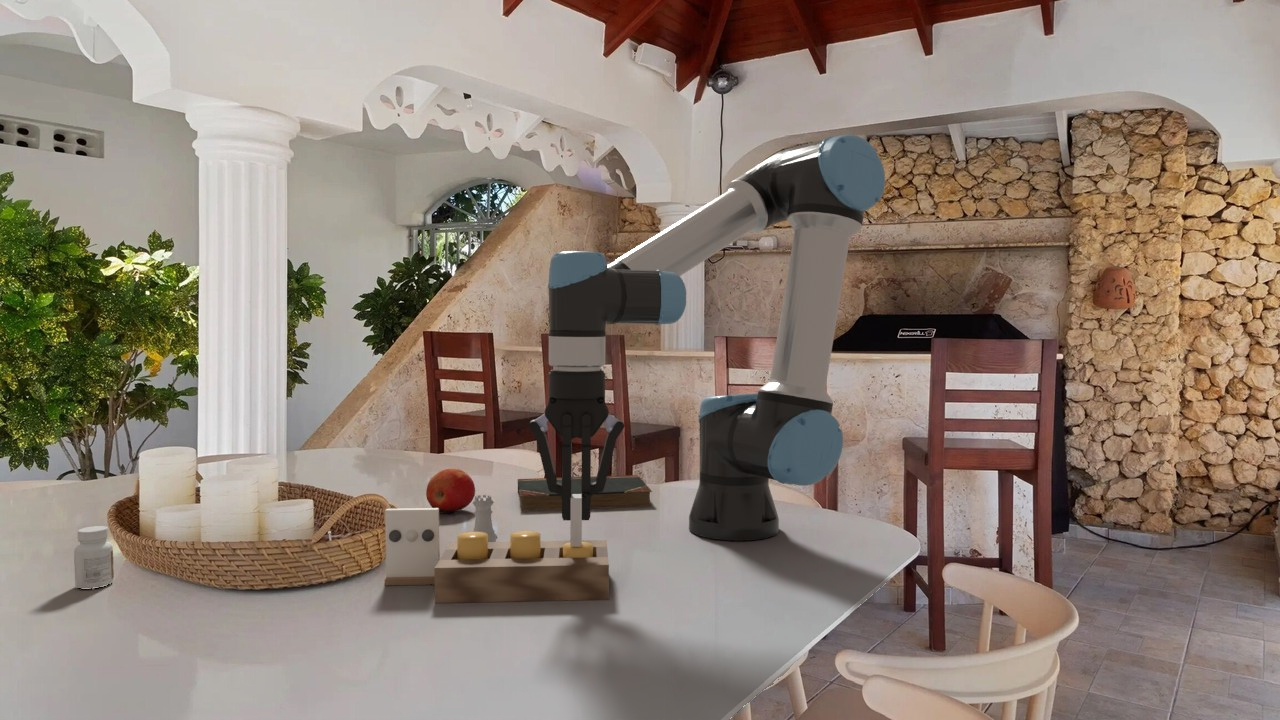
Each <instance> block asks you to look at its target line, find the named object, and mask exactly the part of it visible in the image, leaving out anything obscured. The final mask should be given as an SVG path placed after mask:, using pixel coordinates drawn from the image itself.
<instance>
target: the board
mask: <svg viewBox="0 0 1280 720" xmlns="http://www.w3.org/2000/svg"><path fill="white" fill-rule="evenodd" d="M582 542H588V543H591V544H592V545H593V557H581V558H563V545H564V544H566V543H570V540H540V546H541V558H524V559H511V558H510V541H496V542H488V559H467V560H458V556H457V541H456V542H449V543H448V544H447V546H446V548H445V549H444V552H442V555H441V556H440V560H439V561H438V563H437V565H436V566H435V568H434V571H435V584H434V604H446V603H447V604H448V603H449V604H451V603H453V604H454V603H496V602H497V603H499V602H503V603H504V602H505V603H506V602H542V601H544V602H545V601H546V602H548V601H549V602H550V601H552V602H553V601H591V600H592V601H595V600H596V601H598V600H599V601H602V600H609V599H610V596H609V595H610V593H609V591H610V581H609V580H610V578H609V577H610V570H609V567H610V566H609V565H610V564H609V552H608V541H607V539H598V540H597V539H596V540H594V539H592V540H589V539H586V540H583V539H582Z"/></svg>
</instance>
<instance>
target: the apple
mask: <svg viewBox="0 0 1280 720" xmlns="http://www.w3.org/2000/svg"><path fill="white" fill-rule="evenodd" d="M425 491H426V493H425V496H426V500H427V502H428V504H429V506H431V508H439V513H443V514H449V513H454V512H457V511H460V510H463V509H465V508H466V507H468V506H469V505H470V503H473V502H472V501H474V499H475V496H476V487H475V483H474V480H473V479H472V477H471V476H470V475H469V474H468V472H465V471H464V470H461V469H460V468H445V469H441V470H440V471H439V472H436V473H435V474H434V475H433V476H432V477H431V478H430V479H429V481H428V483H427V485H426V490H425Z"/></svg>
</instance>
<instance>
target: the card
mask: <svg viewBox="0 0 1280 720" xmlns="http://www.w3.org/2000/svg"><path fill="white" fill-rule="evenodd" d="M384 517H385V518H384V519H385V525H384V526H385V527H384V528H385V575H386V576H385V578H384V586H422V585H423V586H425V585H426V586H427V584H428V585H430V584H432V585H434V586H435V571H434V568H435V566H436V565H437V563H438V561H439V560H440V558H441V556H440V512H439V508H432V507H418V508H417V507H415V508H413V507H412V508H411V507H408V508H406V507H405V508H402V507H401V508H399V507H398V508H386V509H385V510H384ZM430 586H431V585H430Z"/></svg>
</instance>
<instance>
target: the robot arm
mask: <svg viewBox="0 0 1280 720" xmlns="http://www.w3.org/2000/svg"><path fill="white" fill-rule="evenodd" d="M885 173H886V172H885V168H884V164H883V161H882V159H881V157H879V155H878V153H877V150H876V148H875V147H874V146H873V145H872V144H871V143H870V141H868V140H866V139H864V138H863V137H861V136H858V135H855V134H844V135H843V134H842V135H831V136H827V137H826V138H824V139H821V140H816V141H814V142H809V143H805V144H802V145H798V146H791V147H789V148H785V149H783V150H780V151H778V152H777V153H775V154H774V153H773V154H772V155H771V156H769V157H768V158H766V159H765V160H763V161H761V162H760V163H758V164H756V166H753V167H752V168H750V169H749V170H748V171H746V172H744V173H743V174H741V175H740V176H739V177H737V178H735V179H733V180H732V181H731V182H729V183H728V184H727V185H726V187H725V191H724V193H723V194H721V195H719V196H717V197H716V198H714V199H713V200H711V201H710V202H708V203H706V204H704V205H703V206H701V207H699V208H698V209H696V210H695V211H693V212H691V213H690V214H688V215H687V216H685V217H684V218H682V219H680V220H678V221H676V222H675V223H674V224H672V225H670V226H669V227H667V228H665V229H664V230H662V231H660V232H658V233H657V234H656V235H654V236H652V237H651V238H649V239H648V240H646V241H644V242H643V243H640V244H639V245H637V246H636V247H635V248H632V249H631V250H630V251H627V252H626V253H624V254H623V255H621V256H620V257H618V258H617V259H615V260H613V261H612V262H610V263H607V258H606V255H605V254H604V253H602V252H598V251H597V252H596V251H595V252H594V251H585V250H584V251H583V250H580V251H579V250H574V251H573V250H571V251H570V250H567V251H559V252H556V253H554V255H552V257H551V259H550V263H549V268H548V269H549V271H548V285H547V289H548V310H549V311H548V312H549V313H548V314H549V315H548V317H549V323H548V324H549V326H548V327H549V329H548V330H549V331H548V365H549V366H550V367H552V369H551V370H550V371H549V372H548V402H547V405H546V407H545V408H544V413H543V414H541V415H540V416H539V417H537V418H535V419H532V420H530V422H529V424H528V429H529V431H530V432H531V433H532V435H533V437H534V438H535V440H536V443H537V447H538V450H539V451H538V452H539V456H540V459H541V464H542V468H543V473H544V476H545V477H544V478H546V481H547V485H548V489H549V491H550V492H552V493H557V494H559V495H560V496H561V497H562V509H561V518H562V521H570V525H569V526H570V527H569V528H570V540H569V541H570V547H581V546H582V540H583V538H582V536H583V535H582V533H583V530H582V529H583V528H582V527H583V525H582V524H583V521H590V520H591V508H590V499H591V496H592V495H593V494H595V493H598V492H602V491H603V490H604V487H605V483H606V479H607V476H609V475H608V474H609V470H610V466H611V463H612V459H613V456H614V455H613V454H614V449H615V446H616V442H617V439H618V438H619V436H620V435H621V433H622V431H623V430H624V429H625V423H624V421H623V420H622V419H618V418H616V417H615V416H613V415H612V414H610V411H609V408H608V406H607V403H606V372H604V370H603V369H602V368H601V367H604V366H605V365H606V341H607V339H606V338H607V337H606V334H607V333H606V332H607V331H606V329H607V325H615V324H617V325H618V324H619V325H654V326H658V327H659V326H661V325H673V324H674V323H676V322H678V321H679V320H680V319H681V318H682V316H683V314H684V312H685V309H686V306H687V290H686V285H685V282H684V280H683V279H682V277H681V276H683V275H684V274H685V273H687V272H690V271H691V270H692V269H694V268H695V267H697V266H698V265H700V264H701V263H703V262H705V261H706V260H708V259H709V258H711V257H713V256H715V254H717V253H719V252H720V251H722V250H723V249H725V248H726V247H728V246H730V245H731V244H733V243H734V242H736V241H737V240H740V238H742V237H744V236H745V235H747V234H748V233H750V234H759V233H761V232H762V231H764V230H765V229H767V228H769V227H771V226H773V225H777V224H780V223H782V222H788V224H789V225H790V226H791V228H792V229H793V231H794V234H793V239H792V246H791V251H790V257H789V264H788V270H787V276H786V282H785V288H784V294H783V298H782V299H783V300H782V306H781V312H780V316H779V317H780V318H779V325H778V330H777V335H776V336H777V337H776V342H775V347H774V354H773V359H772V367H771V373H770V377H769V378H770V379H769V380H768V382H767V383H765V384H764V385H762V386H761V387H759V388H758V390H757V393H742V394H740V393H739V394H728V395H727V394H725V395H716V396H715V395H714V396H707V397H705V398H704V399H702V401H701V402H700V405H699V406H700V407H699V415H698V423H699V484H698V487H697V491H696V494H695V497H694V500H693V503H692V505H691V509H690V512H689V516H688V517H689V518H688V530H689V531H690V532H691V533H692V534H694V535H696V536H700V537H704V538H707V539H714V540H720V541H721V540H723V541H739V542H740V541H756V540H762V539H767V538H770V537H774V536H775V535H777V534H778V533H779V531H780V529H779V528H780V526H779V525H780V519H779V513H778V512H777V511H778V510H777V508H776V506H775V502H774V499H773V495H772V492H771V489H770V483H769V481H770V480H773V481H777V482H778V483H780V484H783V485H784V484H785V485H791V486H792V485H793V486H794V485H795V486H798V487H799V486H802V487H803V486H804V487H805V486H812V485H815V484H817V483H819V482H821V481H823V480H824V478H826V477H827V476H829V475H830V474H831V473H832V472H833V470H834V469H835V468H836V466H837V464H838V462H839V460H840V457H841V455H842V452H843V447H844V435H843V433H844V432H843V430H842V429H840V423H839V421H838V419H836V417H835V416H834V415H832V412H833V408H834V407H833V406H834V400H833V399H832V397H831V396H830V395H829V394H828V392H827V390H826V388H827V382H828V375H829V374H828V373H829V368H830V361H831V357H832V351H833V345H834V339H835V338H834V337H835V332H836V325H837V319H838V313H839V306H840V301H841V295H842V288H843V284H844V276H845V270H846V265H847V259H848V258H847V257H848V252H849V246H850V241H851V238H852V237H853V236H855V235H856V234H857V233H859V232H860V231H862V228H863V222H864V215H865V212H867V211H869V210H870V209H871V208H873V207H875V206H876V204H877V203H878V202H880V201H881V198H882V197H883V194H884V193H885V192H884V191H885V187H886V174H885ZM547 422H549V423H550V425H551V426H552V427H553V429H554V430H555V432H556V433H557V434H558V436H559V437H561V446H562V447H561V453H562V454H561V478H562V483H559V482H557V478H558V477H557V473H556V470H555V465H554V461H553V457H552V453H551V449H550V446H549V441H548V437H547V434H546V432H547V431H548V423H547ZM605 422H606V425H605V430H606V432H608V433H607V435H606V438H605V442H604V446H603V450H602V453H601V458H600V461H599V462H600V463H599V465H598V466H599V467H598V470H597V473H596V476H597V477H596V481H595V482H594V483H591V477H592V476H591V474H592V473H591V471H592V470H591V468H592V467H591V466H592V465H591V464H592V461H591V457H592V453H591V452H592V450H591V449H592V443H591V442H592V440H591V439H592V438H593V436H595V434H597V432H598V431H599V430H600V428H601V427H602V425H603V424H604V423H605ZM576 438H577V439H580V440H581V477H582V489H581V494H571V477H572V469H573V467H572V464H573V463H572V461H573V460H572V458H573V457H572V455H573V454H572V452H573V451H572V449H573V446H572V443H573V441H572V440H573V439H576ZM769 479H770V480H769Z"/></svg>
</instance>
